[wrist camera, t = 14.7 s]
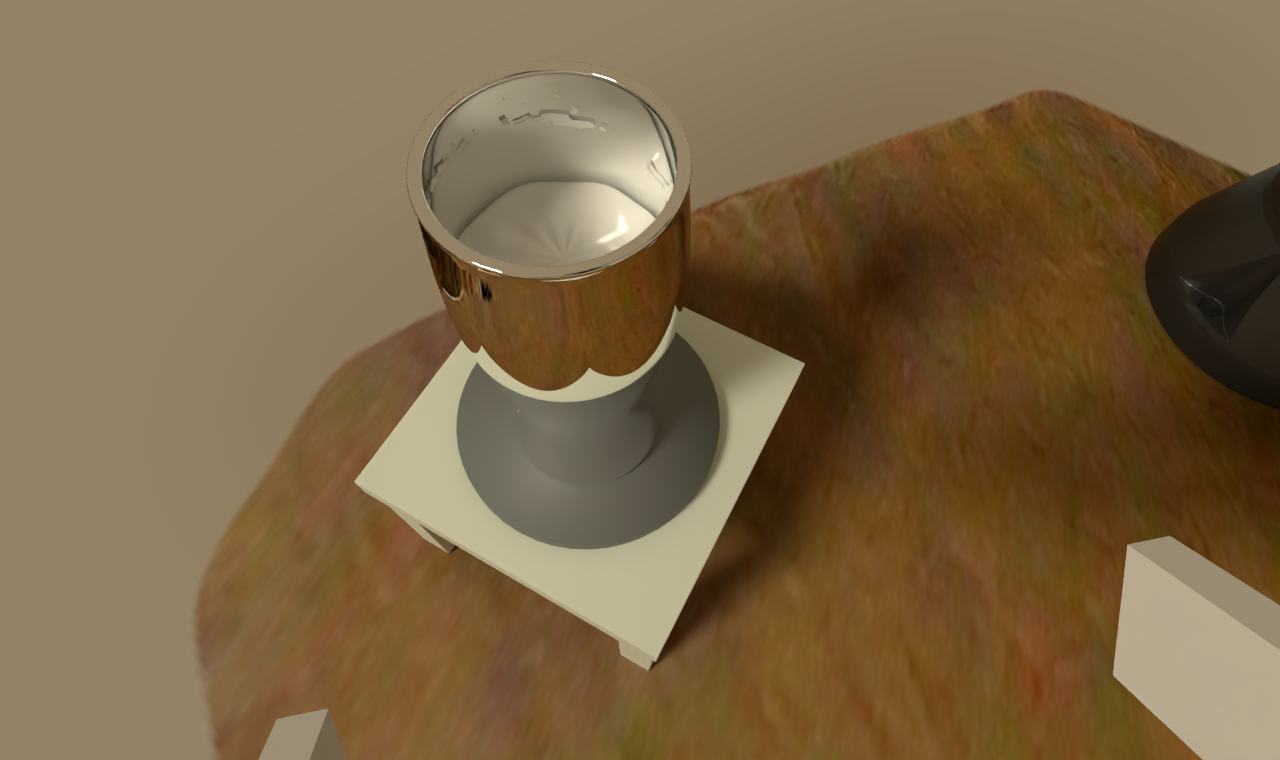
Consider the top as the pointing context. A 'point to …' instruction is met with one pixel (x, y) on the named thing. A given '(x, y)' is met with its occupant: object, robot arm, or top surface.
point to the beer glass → (561, 251)
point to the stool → (592, 514)
